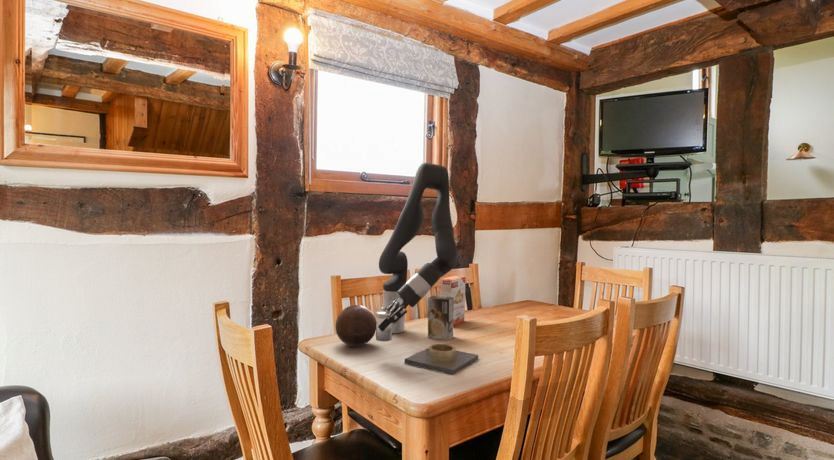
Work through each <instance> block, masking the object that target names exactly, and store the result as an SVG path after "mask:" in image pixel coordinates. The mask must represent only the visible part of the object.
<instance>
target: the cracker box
mask: <svg viewBox="0 0 834 460" xmlns="http://www.w3.org/2000/svg"><path fill="white" fill-rule="evenodd" d="M466 278H467V277H466V276H462V275H453V276H449V277H444V278H443V277H442V278H440V296H444V297H453V327H454V326H456V325H458V324H461V323H463V322H465V313H466V312H465V309H466V307H465V306H466V305H465V304H466V303H465V302H466V280H467V279H466Z"/></svg>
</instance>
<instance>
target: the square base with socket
mask: <svg viewBox="0 0 834 460" xmlns="http://www.w3.org/2000/svg"><path fill="white" fill-rule="evenodd" d="M478 360H479V354H476V353H471V352H465V351H460V350H457V347H456V346H454V345H452V344H447V343H434V344H431V345H430V346H428V347H427V348H425V349H423V350H421V351H418V352H417V353H415V354H412V355H410V356H408V357H406V358H404V364H405V365H409V366H414V367H417V368H418V367H419V368H422V369H427V370H430V371H435V372H439V373H444V374H448V375H452V376H453V375H455V374H456V373H458V372H460V371H461V370H463V369H465V368H467V367H468V366H470V365H472V364H473V363H475V362H477V361H478Z"/></svg>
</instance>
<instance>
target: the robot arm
mask: <svg viewBox="0 0 834 460" xmlns="http://www.w3.org/2000/svg"><path fill="white" fill-rule="evenodd" d="M413 178H414V179H413V182H412V185H411V188H410V190H409V194H408V197H407V200H406V202H405V205H404V206H403V209H402V210H401V213H400V215H399V217H398V220H397V222H396V225H395V227H394V230H393V232H392V234H391V236H390V238H389V240H388V242H387V244H386V245H385V248H384V249H383V250H382V252H381V254H380V257H379V261H378V268H379V269H378V270H379V271H380V272H381V273H382V274H385V275H392V276H391V277H390V278H389V279H388V280H386V281H385V282H383V284H382V307H381V308H380V311H389V315H388V316H387V318H386V319H385V320H384V321H383V322H382V323H381V324H380V325H379V326H378V328H379V329H380V330H381V331H384V330H385V329H386V328H387V327H388V326H389V325H390V324H392V334H400V333H401V334H402V333H403V332H405V328H406V327H405V322H406V321H405V320H406V319H405V318H406V314H407V313H408V310H407V308H408V307H409V306H410V307H411V308H414V307H415V306H417V304H418V303H419V302H420V301H421V300H422V299H423V298H424V296H426V294H428V292H429V291H430V289H431V288H433V286H434V285H435V284H436V283H437V282H438V281H439V280H441V279H442V278H443V277H444V276H446V275H447V274H448V273H449V272H451V270H452V269H454V268H455V267H456V266H457V264H458V263H459V260H460V255H459V252H458V249H457V248H458V247H457V244H456V239H455V234H454V233H455V232H454V227H453V220H452V216H451V207H450V205H451V204H450V177H449V172H448V170H447V168H446V167H445V166H443V165H441V164H437V163H431V162H423V163H421V164H420V165H419V166H418V168H417V170H416V172H415V175H414V177H413ZM426 189H428V190H435V192H436V194H437V201H436V204H435V207H434V209H433V210H432V213H431V227H432V231H433V237H434V241H435V243H434V244H435V252H436V256H437V257H436V258H435V259H433V261H431V262H427V263H425V264H424V265H423V266H422V267H421V268H420V269H419V270H418V271H417V272H416V273H414V274H413V275H412V276H411V277H410V278H409V279H408V268H409V267H408V263H409V261H408V257H407V254H406V253H405V252H403V251H401V250H402V249H403V248H405V246H406V245H408V243H410V242H411V241H412V240H413V239H414V238H415V237H416V236H417V235H418V233H419V232H420V230H421V228H422V225H423V223H424V219H425V214H424V209H423V204H422V197H423V195H424V193H425V190H426ZM375 323H376V321H375Z"/></svg>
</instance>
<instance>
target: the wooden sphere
mask: <svg viewBox="0 0 834 460" xmlns="http://www.w3.org/2000/svg"><path fill="white" fill-rule="evenodd" d="M375 321H376V315H375V314H374V313H373V311H372V310H370V309H369V308H368V307H366V306H364V305H361V304H351V305H349V306H347V307H345V308H344V309H342V310H341V311H340V312H339V314H338V316H337V317H336V320H335V332H336V333H335V334H336V335H337V337H338V339H339V340H340V341H341V342H342V343H343V344H345V345H347V346H350V347H361V346H364V345H366V344H368V343H369V342H370V341H371V340H372V339H373V337H374V336H375V335H376V323H375Z"/></svg>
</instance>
